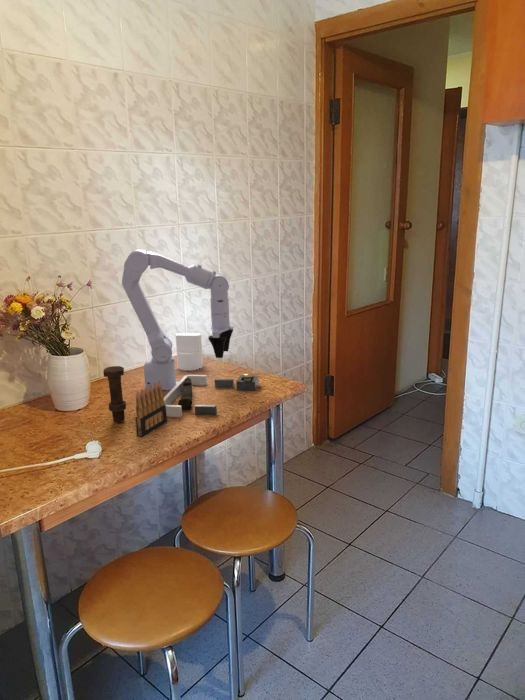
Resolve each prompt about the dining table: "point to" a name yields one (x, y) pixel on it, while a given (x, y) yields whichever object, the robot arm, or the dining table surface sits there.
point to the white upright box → (189, 351)
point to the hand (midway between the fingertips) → (222, 354)
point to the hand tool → (186, 395)
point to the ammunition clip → (150, 410)
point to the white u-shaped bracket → (176, 391)
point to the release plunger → (247, 376)
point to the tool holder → (227, 383)
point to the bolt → (116, 392)
